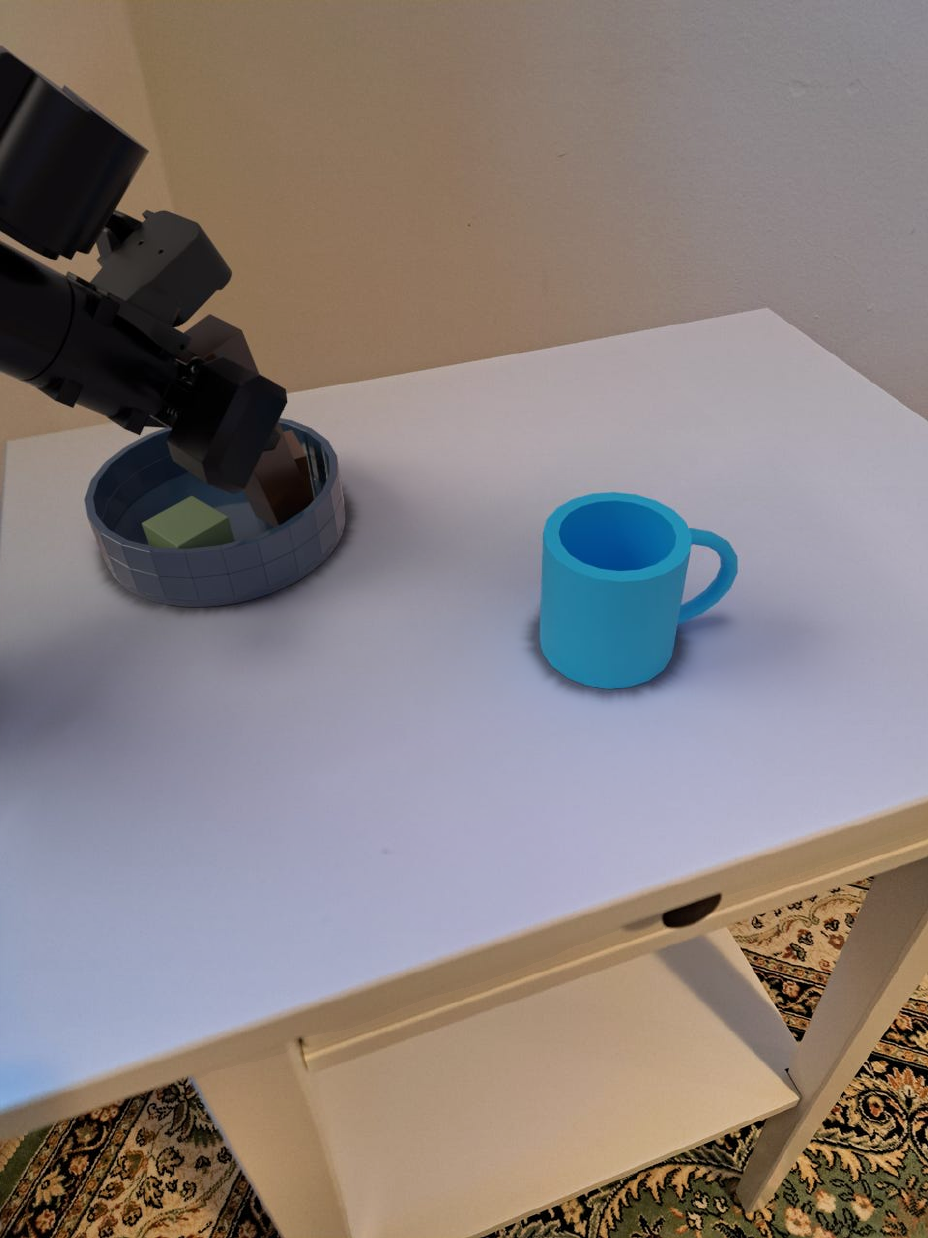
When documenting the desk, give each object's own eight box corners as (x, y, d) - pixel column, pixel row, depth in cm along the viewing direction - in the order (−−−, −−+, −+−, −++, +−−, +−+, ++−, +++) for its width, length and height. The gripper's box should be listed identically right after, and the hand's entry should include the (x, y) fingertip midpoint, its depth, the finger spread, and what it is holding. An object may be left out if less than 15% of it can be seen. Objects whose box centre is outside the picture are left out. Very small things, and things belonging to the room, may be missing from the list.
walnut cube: (262, 515, 64) (251, 469, 62) (249, 487, 67) (238, 441, 64) (315, 501, 65) (306, 455, 63) (300, 474, 68) (292, 429, 65)
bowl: (120, 637, 56) (98, 583, 53) (94, 496, 68) (74, 446, 65) (376, 564, 61) (369, 510, 58) (310, 444, 72) (301, 395, 69)
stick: (283, 534, 61) (202, 358, 49) (255, 516, 63) (170, 341, 51) (314, 507, 62) (242, 329, 50) (286, 490, 64) (209, 313, 52)
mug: (563, 700, 51) (569, 593, 45) (523, 609, 57) (525, 504, 51) (755, 661, 53) (784, 554, 47) (697, 577, 58) (717, 472, 53)
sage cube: (157, 570, 60) (141, 522, 57) (205, 542, 62) (191, 495, 59) (193, 594, 58) (177, 546, 55) (241, 564, 60) (228, 516, 57)
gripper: (212, 215, 38) (417, 362, 51) (20, 143, 48) (233, 282, 61) (104, 447, 39) (331, 532, 53) (-61, 330, 49) (164, 426, 63)
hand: (261, 432), depth 57 cm, fingers closed on stick, 3 cm apart
